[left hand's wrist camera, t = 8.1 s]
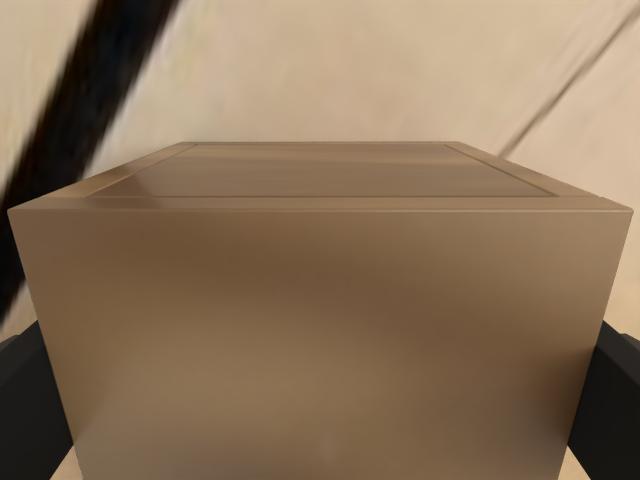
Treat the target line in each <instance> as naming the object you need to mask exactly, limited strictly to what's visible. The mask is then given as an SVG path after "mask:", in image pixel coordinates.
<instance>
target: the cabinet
mask: <svg viewBox="0 0 640 480" xmlns="http://www.w3.org/2000/svg"><path fill="white" fill-rule="evenodd" d="M7 213H8V217H9V220H10V224H11V227H12V231H13V234H14V238H15V241H16V245H17V248H18V252H19V255H20V259H21V262H22V266H23V269H24V273H25V276H26V280H27V283H28V287H29V290H30V294H31V297H32V301H33V304H34V308H35V311H36V315H37V318H38V322H39V325H40V329H41V332H42V336H43V339H44V343H45V346H46V350H47V354H48V357H49V361H50V364H51V368H52V371H53V375H54V378H55V382H56V385H57V389H58V392H59V396H60V399H61V403H62V406H63V410H64V413H65V417H66V420H67V424H68V427H69V431H70V434H71V438H72V441H73V445H74V448H75V452H76V455H77V459H78V462H79V466H80V469H81V473H82V476H83V480H558V476H559V473H560V469H561V466H562V462H563V459H564V455H565V452H566V448H567V445H568V441H569V438H570V434H571V430H572V427H573V423H574V420H575V416H576V413H577V409H578V406H579V402H580V399H581V395H582V392H583V388H584V385H585V381H586V377H587V374H588V370H589V367H590V363H591V360H592V356H593V353H594V349H595V346H596V342H597V339H598V335H599V331H600V328H601V324H602V321H603V317H604V314H605V310H606V307H607V303H608V300H609V296H610V293H611V289H612V285H613V282H614V278H615V275H616V271H617V268H618V264H619V261H620V257H621V254H622V250H623V247H624V243H625V240H626V236H627V232H628V229H629V225H630V222H631V218H632V215H633V209H632V208H629V207H627V206H624V205H622V204H619V203H616V202H614V201H611V200H609V199H606V198H603V197H599V196H597V195H594V194H592V193H589V192H587V191H584V190H582V189H579V188H576V187H574V186H571V185H569V184H566V183H564V182H561V181H558V180H556V179H553V178H551V177H548V176H546V175H543V174H540V173H538V172H535V171H533V170H530V169H527V168H525V167H522V166H520V165H517V164H515V163H512V162H509V161H507V160H504V159H502V158H499V157H497V156H494V155H491V154H489V153H486V152H484V151H481V150H479V149H476V148H473V147H471V146H468V145H466V144H463V143H461V142H181V143H178V144H175V145H172V146H170V147H167V148H165V149H162V150H160V151H157V152H154V153H152V154H149V155H147V156H144V157H142V158H139V159H136V160H134V161H131V162H129V163H126V164H124V165H121V166H118V167H116V168H113V169H111V170H108V171H106V172H103V173H100V174H98V175H95V176H93V177H90V178H88V179H85V180H82V181H80V182H77V183H75V184H72V185H70V186H67V187H64V188H62V189H59V190H57V191H54V192H52V193H49V194H46V195H44V196H41V197H40V198H36V199H34V200H31V201H29V202H26V203H23V204H21V205H18V206H16V207H13V208H11V209H8V210H7Z"/></svg>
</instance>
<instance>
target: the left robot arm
mask: <svg viewBox="0 0 640 480" xmlns="http://www.w3.org/2000/svg"><path fill="white" fill-rule="evenodd" d="M72 446H73V441H72V438H71V434H70V431H69V427H68V424H67V420H66V417H65V413H64V410H63V406H62V403H61V399H60V396H59V392H58V389H57V385H56V382H55V378H54V375H53V371H52V368H51V364H50V361H49V357H48V354H47V350H46V346H45V343H44V339H43V336H42V332H41V329H40V325H39V322H38V320H37V321H36V322H34V323H33V324H32V325H31V326H30V327H28V328H27V329H26V330H25V331H24V332H22V333H21V334H20V335H14V336H12V337H10V338H9V339H7V340H5V341H3V342H1V343H0V480H50V478H51V477H52V475H53V474H54V472H55V471H56V470H57V468H58V467H59V465H60V464H61V462H62V461H63V459H64V458H65V456H66V455H67V453H68V452H69V450H70V449H71V447H72ZM568 447H569V448H570V450H571V451H572V453H573V454H574V456H575V457H576V459H577V460H578V461H579V463H580V464H581V466H582V467H583V469H584V470H585V472H586V473H587V475H588V476H589V478H590V479H591V480H640V341H639V340H637V339H635V338H633V337H631V336H629V335H627V334H619V333H618V332H617V331H616V330H614V329H613V328H612V327H611V326H610V325H609V324H607V323H606V322H605V321H604V320H603V321H602V324H601V328H600V331H599V335H598V339H597V342H596V346H595V349H594V353H593V356H592V360H591V363H590V367H589V370H588V374H587V377H586V381H585V385H584V388H583V392H582V395H581V399H580V402H579V406H578V409H577V413H576V416H575V420H574V423H573V427H572V430H571V434H570V438H569V441H568Z"/></svg>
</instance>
